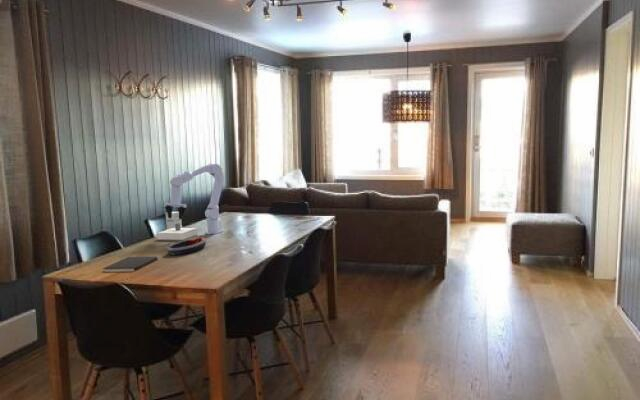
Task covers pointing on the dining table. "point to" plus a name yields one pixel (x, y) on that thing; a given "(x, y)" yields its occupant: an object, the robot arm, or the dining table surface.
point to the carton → (176, 235)
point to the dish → (186, 246)
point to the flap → (177, 228)
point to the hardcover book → (130, 264)
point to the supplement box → (173, 220)
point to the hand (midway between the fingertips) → (175, 218)
